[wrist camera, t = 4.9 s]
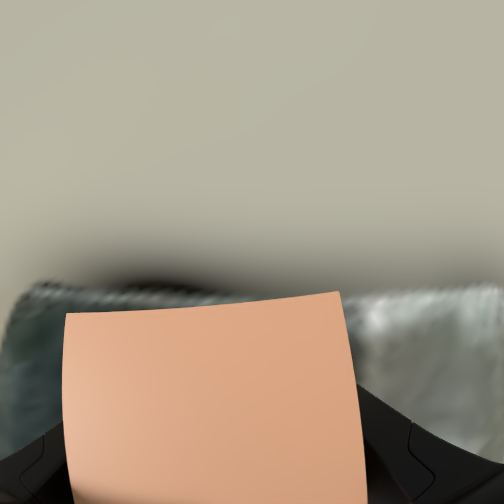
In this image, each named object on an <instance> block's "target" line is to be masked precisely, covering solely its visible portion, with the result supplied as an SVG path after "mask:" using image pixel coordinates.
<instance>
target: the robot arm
mask: <svg viewBox="0 0 504 504" xmlns="http://www.w3.org/2000/svg"><path fill="white" fill-rule="evenodd" d="M356 388H357V395H358V403H359V410H360V418H361V427H362V436H363V446H364V456H365V469H366V484H367V504H504V464H500V463H496V462H492V461H490V460H487V459H485V458H482V457H480V456H477V455H475V454H473V453H470V452H468V451H466V450H464V449H461V448H459V447H457V446H455V445H453V444H451V443H449V442H447V441H445V440H443V439H441V438H439V437H437V436H435V435H433V434H432V433H430V432H428V431H427V430H425V429H423V428H422V427H420V426H419V425H417V424H416V423H414V422H413V423H412V421H411V420H410V419H408V418H407V417H405V416H404V415H402V414H401V413H399V412H398V411H396V410H395V409H393V408H392V407H390V406H389V405H387V404H386V403H384V402H383V401H381V400H380V399H378V398H377V397H376V396H374V395H373V394H371V393H370V392H368V391H367V390H365V389H364V388H363V387H361V386H360V385H358V384H357V383H356ZM411 423H412V424H411ZM0 504H75V503H74V498H73V493H72V488H71V483H70V477H69V471H68V464H67V456H66V448H65V437H64V424H63V421H61V422H60V423H59V424H57V425H56V426H54V427H53V428H51V429H50V430H49V431H47V432H46V433H45V434H44V435H41V436H40V437H39V438H37V439H36V440H34V441H33V442H31V443H30V444H28V445H27V446H25V447H24V448H22V449H20V450H18V451H17V452H15V453H13V454H11V455H10V456H8V457H6V458H4V459H2V460H0Z"/></svg>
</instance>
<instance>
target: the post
mask: <svg viewBox="0 0 504 504" xmlns="http://www.w3.org/2000/svg"><path fill="white" fill-rule="evenodd" d="M62 403H63V424H64V437H65V448H66V456H67V464H68V471H69V477H70V483H71V488H72V493H73V498H74V503H75V504H367V484H366V469H365V456H364V446H363V436H362V427H361V418H360V410H359V403H358V395H357V388H356V382H355V375H354V369H353V363H352V357H351V351H350V345H349V340H348V334H347V329H346V324H345V319H344V314H343V309H342V304H341V299H340V295H339V291H337V292H330V293H322V294H315V295H308V296H299V297H291V298H283V299H274V300H265V301H256V302H246V303H236V304H225V305H214V306H202V307H189V308H176V309H161V310H144V311H124V312H98V313H66V323H65V334H64V347H63V370H62Z"/></svg>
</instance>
